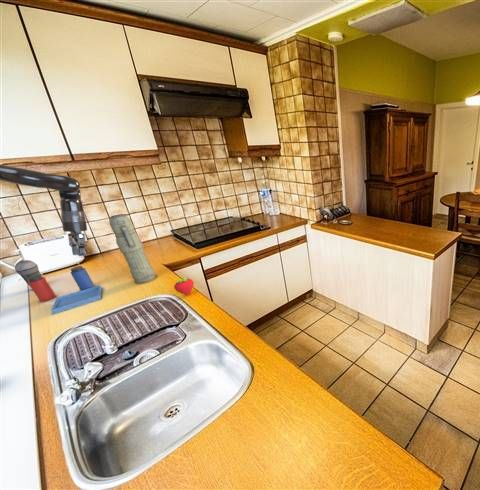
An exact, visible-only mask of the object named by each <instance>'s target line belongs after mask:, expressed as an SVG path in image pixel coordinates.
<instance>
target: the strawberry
mask: <svg viewBox="0 0 480 490" xmlns="http://www.w3.org/2000/svg"><path fill="white" fill-rule="evenodd" d="M173 285H174V286H173V288H174V290H176V292H178V293H180V294H182V295H185V296H188V295H190V294H191V292H192V290H193V288H194V281H193V279H192V278H189V277H183V276H181V278H180V279H177V280H176V281H175V284H173Z"/></svg>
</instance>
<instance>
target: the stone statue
mask: <svg viewBox="0 0 480 490" xmlns="http://www.w3.org/2000/svg"><path fill="white" fill-rule="evenodd" d="M108 222H109V223H108V224H109V226H110V229H111V230H112V232H113V234H114V235H115V242H116V245H117V247H118V249H119V252H120V253H122V254H123V256H124V259H125V261H126V263H127V266H128V268H129V272H130V275H131V277H132V279H133V280H134V283H135V284H137V285H140V284H141V285H142V284H147V283H149V282H151V281H153V280H155V279H156V278H157V275H156V273H155V270H154V268H153V266H152V265H151V264H150V261H149V259H148V257H147V255H146V253H145V250H144V245H143V243H142V240H141V237H140V236H139V235H138V234H137V232H136V231H135V228H134V226H133V223H132V221H131V219H130V218H129V217H128V216H127V215H126V214H124V213H123V214H122V213H119V214H115V215H112V216H110V217H109V218H108Z"/></svg>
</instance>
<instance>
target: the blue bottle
mask: <svg viewBox="0 0 480 490" xmlns="http://www.w3.org/2000/svg"><path fill="white" fill-rule="evenodd" d="M70 275H71V276H72V278H73V280H74V283H76V284H77V288H78V289H79V291H82V290H85V289H89V288H92V287H96V285H95V284H94V282H93V280H92V278H91V276H90V275H89V273H88V271H87V269H86V268H85V267H83V266H82V265H78V266H73V267H71V268H70Z"/></svg>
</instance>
